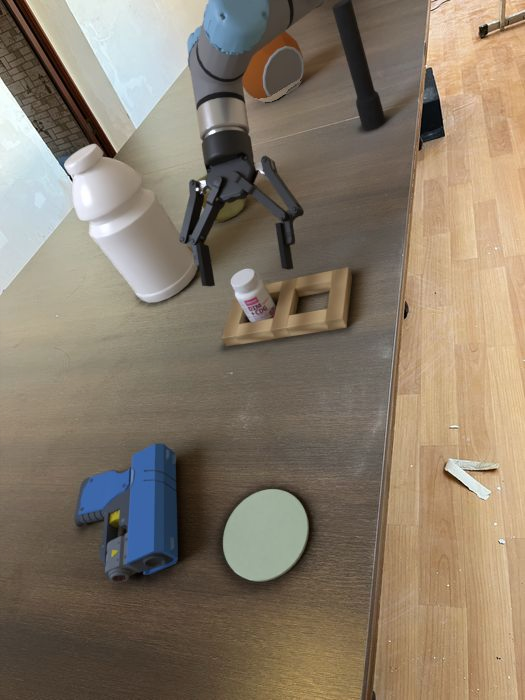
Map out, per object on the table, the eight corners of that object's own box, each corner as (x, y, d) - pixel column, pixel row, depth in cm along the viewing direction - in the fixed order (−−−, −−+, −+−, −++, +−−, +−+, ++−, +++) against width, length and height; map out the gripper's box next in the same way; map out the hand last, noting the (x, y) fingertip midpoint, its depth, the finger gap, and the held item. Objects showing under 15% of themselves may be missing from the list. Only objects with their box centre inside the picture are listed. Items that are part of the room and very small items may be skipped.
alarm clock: (290, 73, 155) (268, 13, 143) (320, 76, 141) (299, 10, 130) (241, 106, 153) (216, 48, 141) (268, 112, 139) (242, 48, 128)
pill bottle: (260, 331, 76) (236, 292, 71) (246, 319, 80) (222, 281, 75) (283, 313, 77) (262, 273, 72) (268, 301, 81) (247, 262, 75)
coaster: (314, 489, 54) (313, 488, 54) (302, 585, 48) (300, 583, 48) (235, 491, 59) (234, 489, 58) (214, 578, 52) (213, 577, 52)
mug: (196, 227, 105) (185, 179, 100) (209, 215, 114) (200, 170, 109) (252, 221, 102) (243, 171, 97) (261, 209, 111) (253, 162, 106)
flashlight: (388, 115, 107) (366, 120, 110) (357, -8, 92) (333, 1, 95) (381, 127, 105) (359, 132, 108) (349, 3, 89) (324, 12, 92)
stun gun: (53, 596, 55) (162, 548, 52) (72, 479, 67) (162, 433, 64) (80, 606, 58) (185, 561, 55) (94, 491, 70) (181, 448, 66)
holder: (352, 276, 76) (348, 266, 75) (346, 327, 69) (342, 318, 68) (241, 298, 84) (236, 290, 83) (226, 346, 77) (221, 338, 76)
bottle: (127, 296, 102) (31, 178, 83) (172, 253, 106) (91, 132, 88) (165, 310, 92) (66, 180, 74) (212, 262, 97) (130, 128, 79)
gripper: (311, 120, 73) (332, 262, 73) (172, 168, 83) (191, 292, 83) (292, 100, 66) (316, 258, 66) (144, 155, 76) (165, 291, 77)
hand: (246, 277), depth 75 cm, fingers open, 13 cm apart
